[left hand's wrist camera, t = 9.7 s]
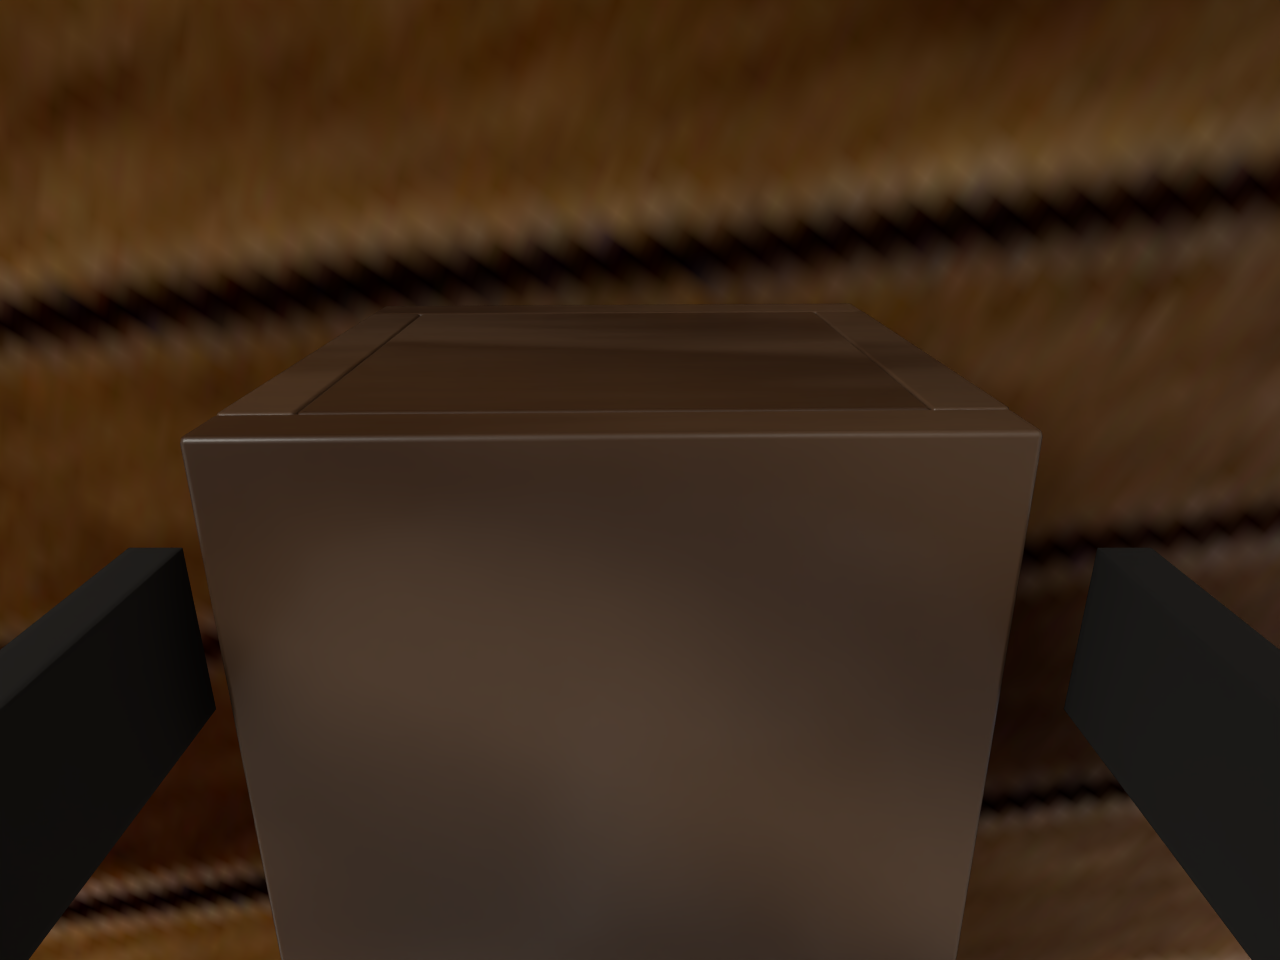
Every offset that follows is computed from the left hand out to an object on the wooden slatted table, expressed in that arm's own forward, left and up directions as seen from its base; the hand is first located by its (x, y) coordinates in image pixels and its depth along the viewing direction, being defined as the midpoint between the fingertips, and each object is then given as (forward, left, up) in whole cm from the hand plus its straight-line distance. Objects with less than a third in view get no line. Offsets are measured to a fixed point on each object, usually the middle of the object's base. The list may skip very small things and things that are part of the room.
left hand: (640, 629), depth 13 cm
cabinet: (+1, +5, -9) cm, 10 cm away
